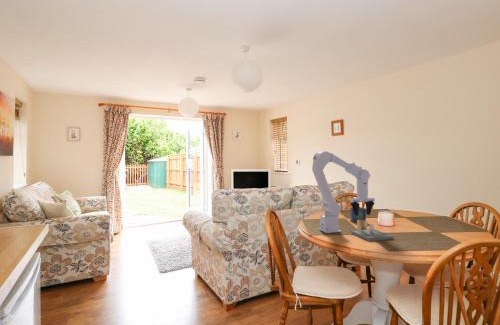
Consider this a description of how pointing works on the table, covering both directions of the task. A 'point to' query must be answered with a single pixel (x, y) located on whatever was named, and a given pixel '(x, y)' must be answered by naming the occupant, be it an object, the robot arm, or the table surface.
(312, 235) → the table surface
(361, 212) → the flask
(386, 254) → the table surface
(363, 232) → the post block
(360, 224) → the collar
